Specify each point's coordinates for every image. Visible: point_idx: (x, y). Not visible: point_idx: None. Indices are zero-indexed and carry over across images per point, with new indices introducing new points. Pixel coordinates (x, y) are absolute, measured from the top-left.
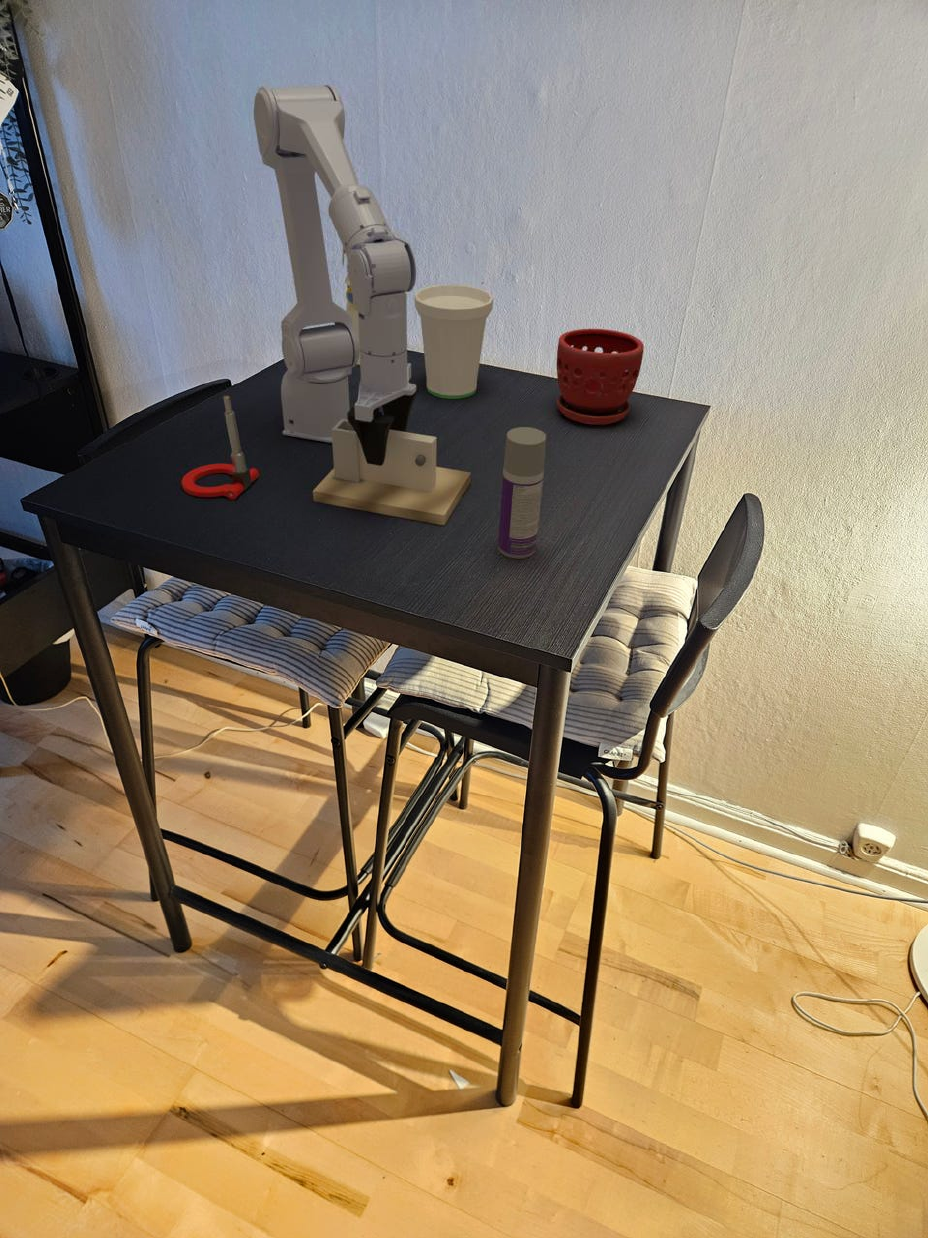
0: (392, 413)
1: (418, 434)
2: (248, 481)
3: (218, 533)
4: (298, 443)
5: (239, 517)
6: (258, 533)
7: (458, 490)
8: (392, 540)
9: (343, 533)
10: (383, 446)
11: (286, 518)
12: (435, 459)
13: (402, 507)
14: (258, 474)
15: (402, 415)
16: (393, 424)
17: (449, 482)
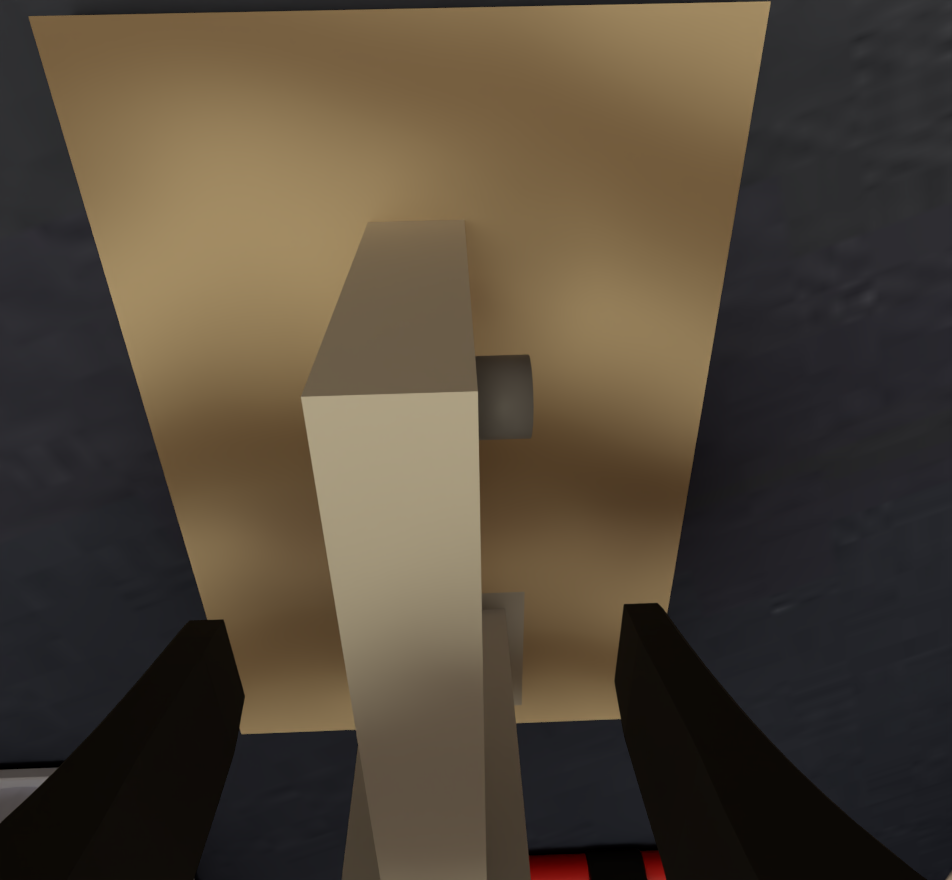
0: (161, 872)
1: (337, 575)
2: (612, 872)
3: (911, 803)
4: (227, 855)
5: None
6: (904, 726)
7: (360, 21)
8: (941, 262)
9: (884, 494)
10: (756, 729)
11: (787, 699)
12: (361, 294)
13: (714, 323)
14: (535, 865)
15: (139, 812)
16: (198, 769)
17: (276, 139)
